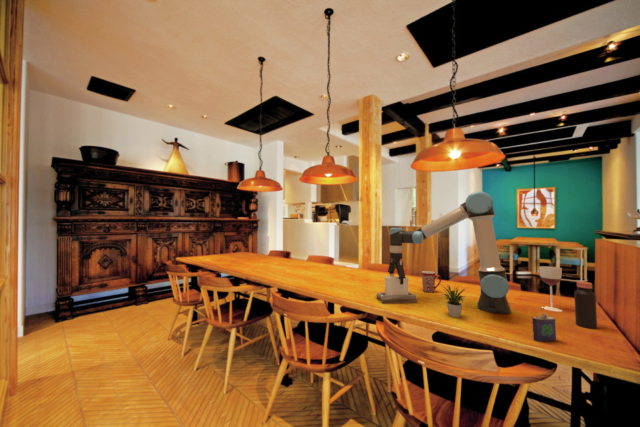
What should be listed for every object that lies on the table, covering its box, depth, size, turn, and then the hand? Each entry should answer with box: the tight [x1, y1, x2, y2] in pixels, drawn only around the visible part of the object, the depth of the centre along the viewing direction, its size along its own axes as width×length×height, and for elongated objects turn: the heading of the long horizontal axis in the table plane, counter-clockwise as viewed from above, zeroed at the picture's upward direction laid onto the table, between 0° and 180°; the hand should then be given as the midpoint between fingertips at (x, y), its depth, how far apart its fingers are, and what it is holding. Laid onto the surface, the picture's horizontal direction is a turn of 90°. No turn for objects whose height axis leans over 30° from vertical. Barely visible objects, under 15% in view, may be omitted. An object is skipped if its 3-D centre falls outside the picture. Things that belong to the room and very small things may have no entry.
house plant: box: [439, 283, 468, 318], centre depth 128 cm, size 14×14×16 cm
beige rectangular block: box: [384, 276, 409, 296], centre depth 153 cm, size 13×5×12 cm, turn 96°
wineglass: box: [538, 265, 563, 313], centre depth 139 cm, size 9×10×23 cm
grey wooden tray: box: [376, 291, 418, 305], centre depth 152 cm, size 12×21×4 cm, turn 96°
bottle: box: [573, 281, 598, 330], centre depth 115 cm, size 7×7×20 cm
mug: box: [421, 270, 442, 294], centre depth 173 cm, size 13×9×14 cm
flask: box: [531, 312, 557, 343], centre depth 100 cm, size 9×3×11 cm, turn 95°
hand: (396, 286), depth 153 cm, fingers open, 13 cm apart
